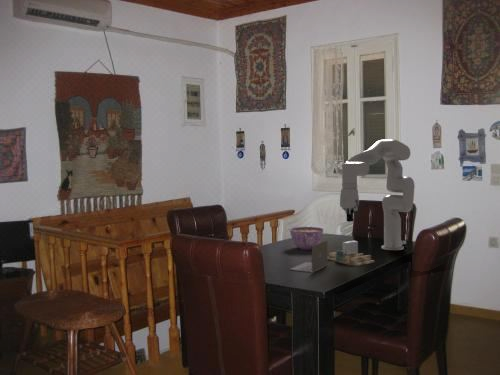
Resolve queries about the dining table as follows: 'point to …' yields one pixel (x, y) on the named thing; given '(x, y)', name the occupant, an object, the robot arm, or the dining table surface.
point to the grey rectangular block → (350, 248)
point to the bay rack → (350, 258)
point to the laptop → (315, 259)
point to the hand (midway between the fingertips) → (349, 221)
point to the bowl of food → (306, 237)
